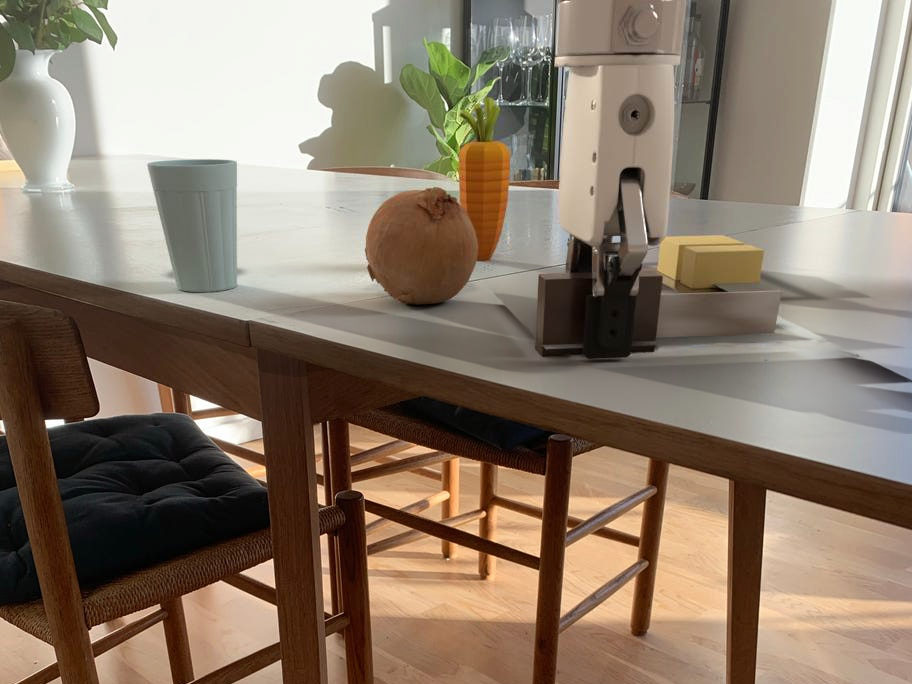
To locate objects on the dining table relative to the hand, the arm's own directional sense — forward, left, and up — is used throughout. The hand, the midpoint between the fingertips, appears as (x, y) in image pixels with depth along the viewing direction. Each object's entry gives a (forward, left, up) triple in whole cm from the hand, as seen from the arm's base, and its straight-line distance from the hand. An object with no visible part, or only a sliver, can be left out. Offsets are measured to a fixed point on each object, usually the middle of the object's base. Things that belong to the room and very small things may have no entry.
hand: (594, 343), depth 66 cm
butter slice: (-16, -18, 0) cm, 24 cm away
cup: (+29, -29, -1) cm, 41 cm away
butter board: (-16, -18, 0) cm, 24 cm away
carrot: (+2, -35, -1) cm, 35 cm away
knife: (-5, 0, 0) cm, 5 cm away
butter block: (-16, -23, 0) cm, 28 cm away
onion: (+10, -19, -1) cm, 21 cm away
